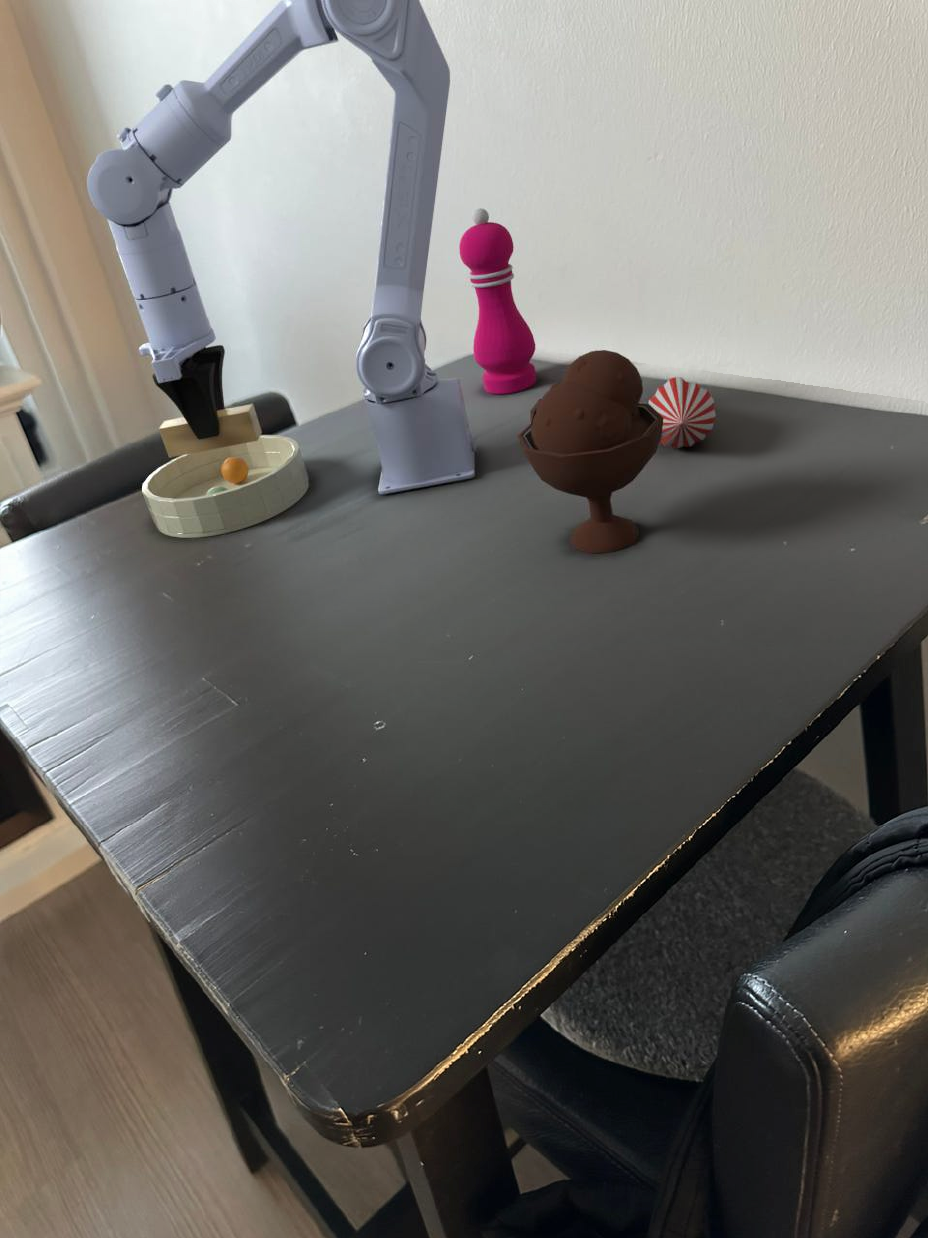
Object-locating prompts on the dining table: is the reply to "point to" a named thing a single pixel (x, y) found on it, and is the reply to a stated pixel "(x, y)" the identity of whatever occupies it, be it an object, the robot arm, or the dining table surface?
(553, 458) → the ice cream bowl
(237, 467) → the ball
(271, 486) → the cream round tray
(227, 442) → the wooden block
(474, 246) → the pepper mill
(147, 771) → the dining table surface
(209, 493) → the ball
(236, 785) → the dining table surface
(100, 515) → the dining table surface
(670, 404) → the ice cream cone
